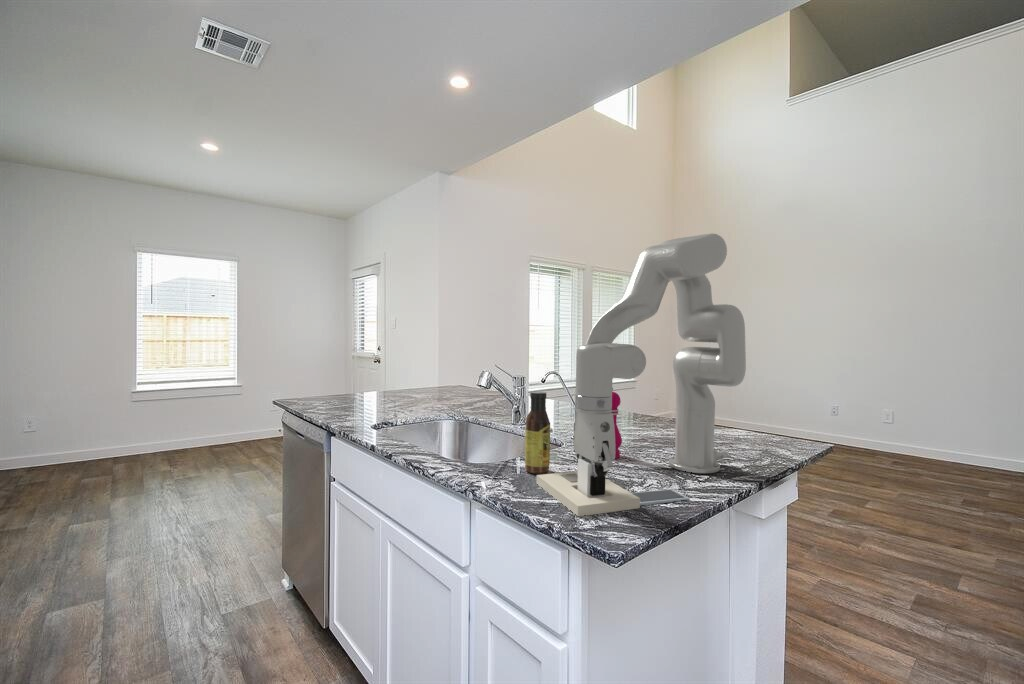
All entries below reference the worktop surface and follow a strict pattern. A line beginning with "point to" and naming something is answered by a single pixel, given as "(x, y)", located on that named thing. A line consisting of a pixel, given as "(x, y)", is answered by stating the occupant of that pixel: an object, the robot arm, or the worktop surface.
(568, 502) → the outlet plate
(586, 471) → the plug
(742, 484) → the worktop surface
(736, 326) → the robot arm
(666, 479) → the worktop surface
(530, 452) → the sauce bottle
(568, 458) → the worktop surface
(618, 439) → the pepper mill
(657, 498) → the plate
